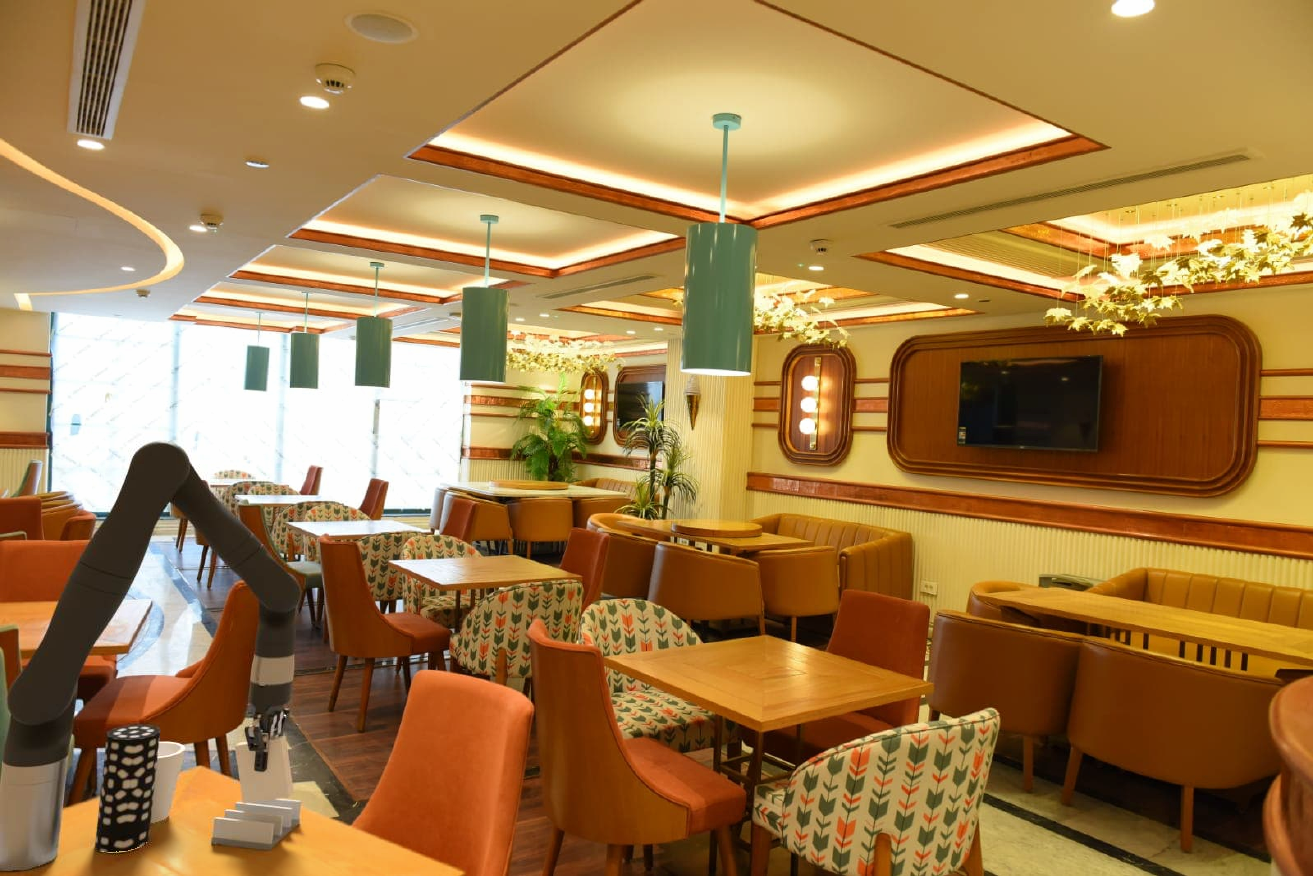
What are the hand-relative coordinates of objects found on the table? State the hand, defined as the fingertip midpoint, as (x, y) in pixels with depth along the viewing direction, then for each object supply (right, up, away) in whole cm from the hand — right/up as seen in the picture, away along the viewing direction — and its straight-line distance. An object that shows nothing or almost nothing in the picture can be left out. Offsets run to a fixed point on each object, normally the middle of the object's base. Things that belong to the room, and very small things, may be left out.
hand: (263, 768), depth 164 cm
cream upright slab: (+1, -6, 0) cm, 6 cm away
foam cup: (-23, -11, +2) cm, 25 cm away
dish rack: (-1, -12, 0) cm, 12 cm away
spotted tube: (-21, -10, -9) cm, 25 cm away
